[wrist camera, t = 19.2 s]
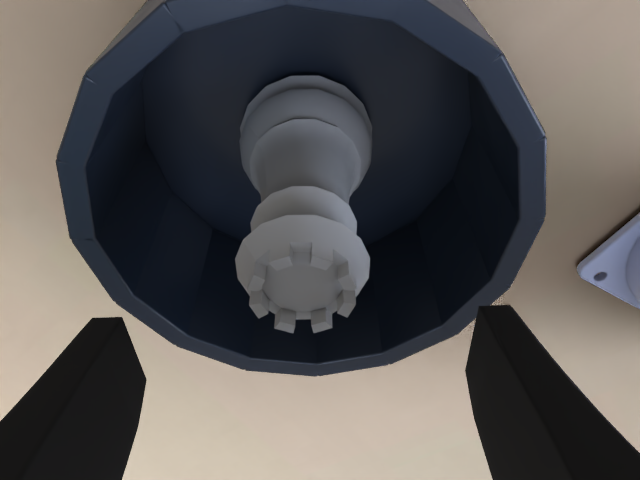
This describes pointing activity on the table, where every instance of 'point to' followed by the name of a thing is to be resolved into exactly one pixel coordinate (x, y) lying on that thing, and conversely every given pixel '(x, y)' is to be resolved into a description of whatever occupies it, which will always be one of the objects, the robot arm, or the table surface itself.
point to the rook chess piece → (304, 201)
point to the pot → (242, 198)
